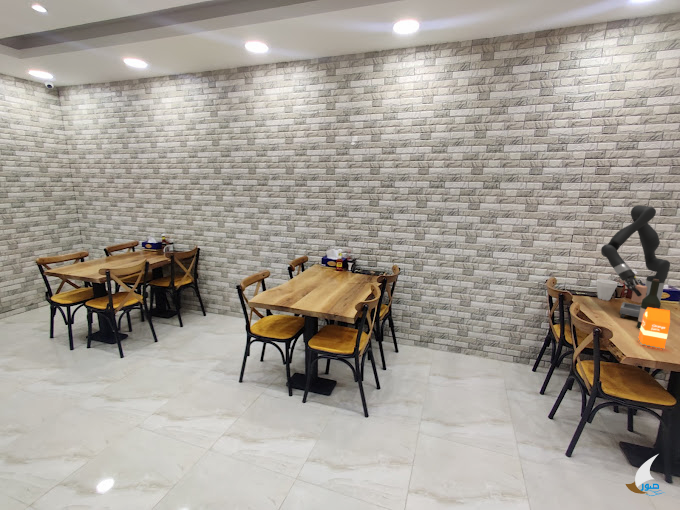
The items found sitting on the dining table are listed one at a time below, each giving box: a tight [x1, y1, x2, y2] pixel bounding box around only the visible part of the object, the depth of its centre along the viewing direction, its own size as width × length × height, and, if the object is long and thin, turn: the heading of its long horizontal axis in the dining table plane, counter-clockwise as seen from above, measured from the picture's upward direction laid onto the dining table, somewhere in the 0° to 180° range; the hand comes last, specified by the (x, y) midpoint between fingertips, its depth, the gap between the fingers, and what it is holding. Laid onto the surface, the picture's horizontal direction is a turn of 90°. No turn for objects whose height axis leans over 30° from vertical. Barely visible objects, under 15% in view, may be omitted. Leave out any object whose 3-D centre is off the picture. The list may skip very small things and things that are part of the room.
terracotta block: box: [630, 285, 648, 304], centre depth 203 cm, size 5×5×10 cm
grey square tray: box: [619, 301, 641, 319], centre depth 206 cm, size 14×14×7 cm
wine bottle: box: [636, 279, 662, 329], centre depth 188 cm, size 8×8×30 cm
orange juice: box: [638, 307, 671, 349], centre depth 169 cm, size 8×9×20 cm
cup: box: [595, 278, 618, 301], centre depth 241 cm, size 12×12×14 cm
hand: (642, 295), depth 202 cm, fingers closed on terracotta block, 4 cm apart
